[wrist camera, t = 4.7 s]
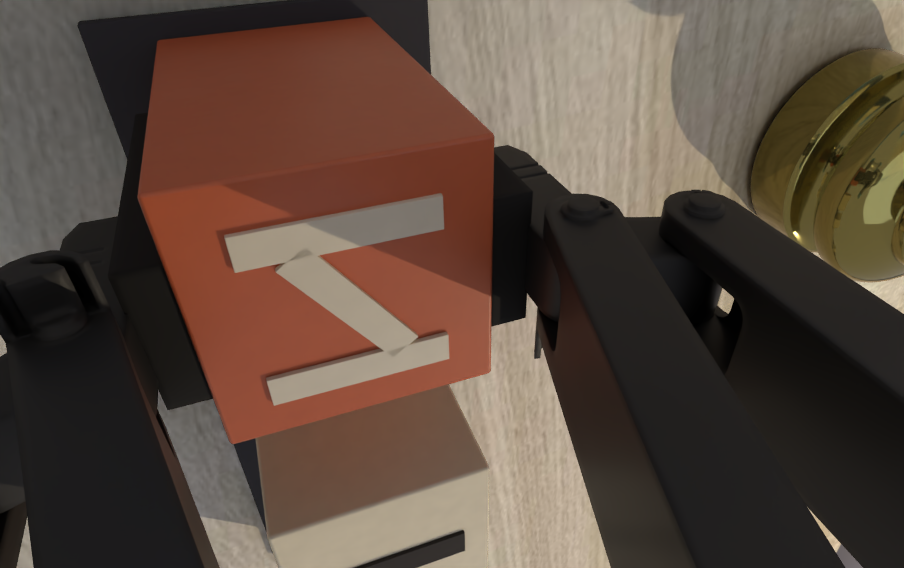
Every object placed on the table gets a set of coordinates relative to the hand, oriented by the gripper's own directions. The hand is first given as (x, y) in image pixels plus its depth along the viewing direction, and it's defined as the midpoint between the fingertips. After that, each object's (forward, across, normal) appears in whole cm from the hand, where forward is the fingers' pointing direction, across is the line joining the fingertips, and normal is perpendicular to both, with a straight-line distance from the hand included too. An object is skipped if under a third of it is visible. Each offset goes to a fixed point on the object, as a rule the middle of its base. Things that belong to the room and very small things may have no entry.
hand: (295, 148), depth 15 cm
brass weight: (+2, +20, -4) cm, 20 cm away
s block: (+1, 0, 0) cm, 1 cm away
